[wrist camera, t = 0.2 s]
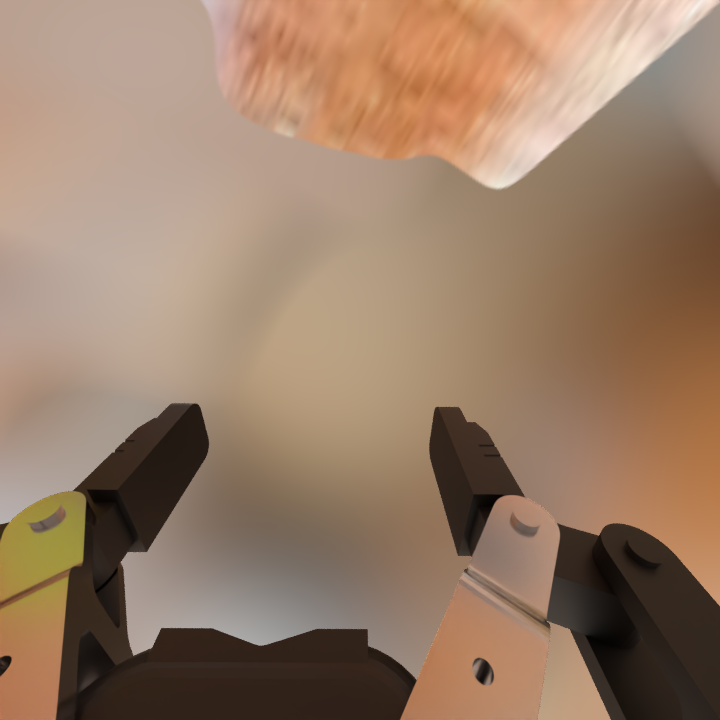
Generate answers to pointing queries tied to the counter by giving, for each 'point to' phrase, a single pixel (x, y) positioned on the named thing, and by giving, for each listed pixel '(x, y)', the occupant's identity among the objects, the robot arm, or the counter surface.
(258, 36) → the counter surface
